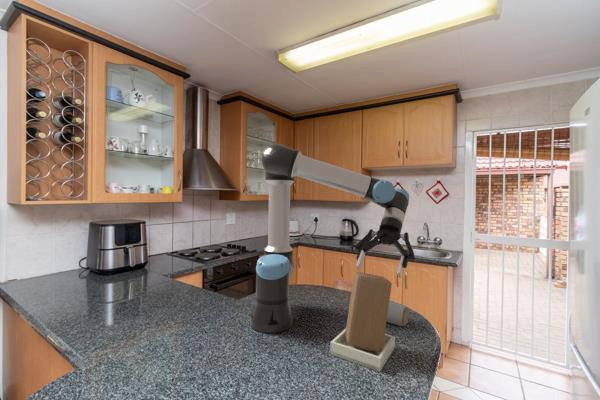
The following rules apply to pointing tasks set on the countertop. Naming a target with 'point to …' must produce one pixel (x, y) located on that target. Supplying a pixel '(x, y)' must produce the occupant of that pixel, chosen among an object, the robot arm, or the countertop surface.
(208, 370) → the countertop surface
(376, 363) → the sage tray
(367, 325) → the wooden block
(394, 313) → the ceramic mug
